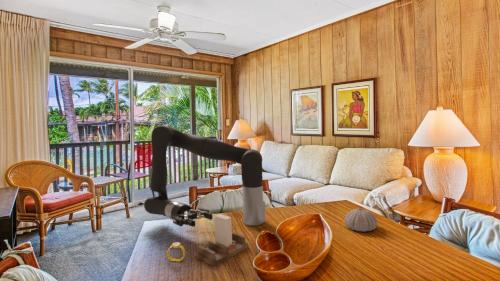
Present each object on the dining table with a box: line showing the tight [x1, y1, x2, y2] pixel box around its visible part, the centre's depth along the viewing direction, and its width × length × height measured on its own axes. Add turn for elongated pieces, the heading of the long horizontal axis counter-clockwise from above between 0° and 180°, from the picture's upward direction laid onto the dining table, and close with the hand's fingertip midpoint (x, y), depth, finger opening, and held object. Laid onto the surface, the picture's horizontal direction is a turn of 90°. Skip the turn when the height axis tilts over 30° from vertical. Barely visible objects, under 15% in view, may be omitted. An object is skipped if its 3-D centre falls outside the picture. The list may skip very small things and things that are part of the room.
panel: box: [214, 213, 233, 253], centre depth 98 cm, size 6×2×12 cm, turn 50°
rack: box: [194, 231, 249, 268], centre depth 99 cm, size 10×17×4 cm, turn 140°
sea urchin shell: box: [344, 208, 378, 232], centre depth 118 cm, size 13×14×8 cm
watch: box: [166, 241, 186, 263], centre depth 94 cm, size 6×3×6 cm, turn 89°
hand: (203, 220), depth 105 cm, fingers open, 8 cm apart
